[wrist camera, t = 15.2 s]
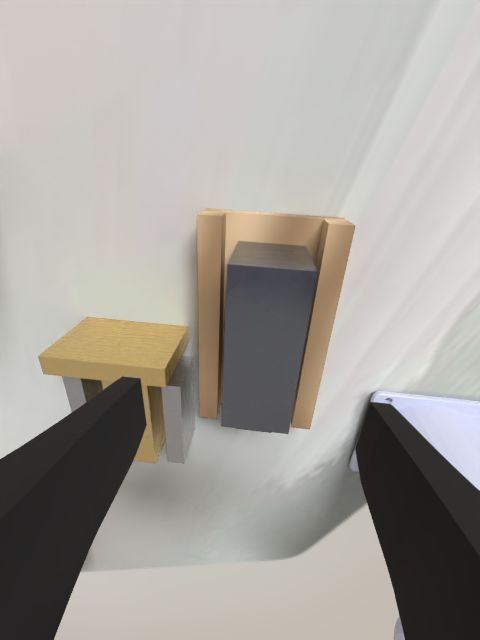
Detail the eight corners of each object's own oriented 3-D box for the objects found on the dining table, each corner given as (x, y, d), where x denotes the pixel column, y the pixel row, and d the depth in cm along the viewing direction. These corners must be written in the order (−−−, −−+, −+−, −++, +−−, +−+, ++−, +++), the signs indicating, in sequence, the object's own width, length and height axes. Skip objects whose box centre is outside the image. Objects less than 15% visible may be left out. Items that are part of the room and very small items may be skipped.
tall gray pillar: (305, 245, 16) (317, 271, 12) (281, 403, 21) (283, 459, 17) (238, 240, 16) (227, 264, 12) (230, 398, 21) (220, 451, 17)
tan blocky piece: (187, 326, 20) (164, 369, 16) (191, 436, 25) (174, 492, 20) (87, 317, 20) (38, 356, 16) (109, 427, 25) (76, 479, 21)
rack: (343, 217, 16) (355, 225, 14) (306, 402, 22) (309, 429, 20) (207, 208, 16) (197, 214, 14) (206, 392, 22) (199, 416, 20)
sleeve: (192, 357, 21) (180, 386, 18) (194, 429, 24) (184, 463, 21) (89, 346, 21) (61, 374, 19) (104, 418, 25) (82, 450, 22)
